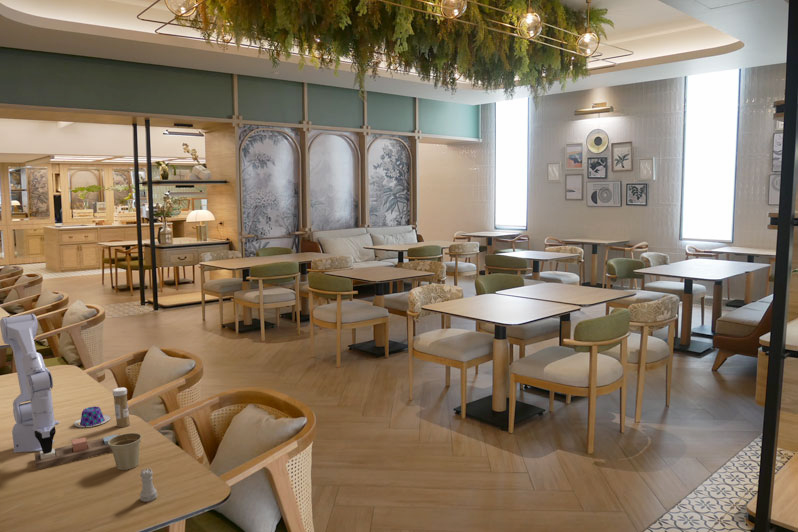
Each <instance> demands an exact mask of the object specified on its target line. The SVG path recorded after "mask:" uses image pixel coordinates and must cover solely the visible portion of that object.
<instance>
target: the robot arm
mask: <svg viewBox="0 0 798 532" xmlns="http://www.w3.org/2000/svg"><path fill="white" fill-rule="evenodd" d="M38 324H39V323H38V318H37V316H36V315H35V314H34V313H33V312H32V313H29V314H23V315H22V314H21V315H16V316H10V317H2V318H1V319H0V333H1V338H2V341H3V344H6V345H10V348H11V350H12V353H13V358H14V359H13V360H14V363H15V370H16V373H17V374H16V375H17V380H18V386H19V390H20V394H19V395H17V397H16V398H15V399H14V400H13V401H12V412H13V418H14V421H15V423H14V424H13V427H12V431H11V433H12V443H13V449H14V450H12V453H26V452H29V453H30V452H40V451H43V453H44V454H45V453H50V452H51V451H52V449H53V443H54V442H55V440H54V437H55V435H56V427H55V426H57V425H59V424H60V421H59V420H55V413H54V407H53V406H54V405H53V404H54V403H53V396H52V389H53V387H54V381H53V376H52V373H51V371H50V370H49V368H48V367H46V364H45V361H44V358H43V355H42V354H41V353H40V352H37V348H36V344H35V338H36V337H37V336H36V335H37V333H38V327H39V325H38Z"/></svg>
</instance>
